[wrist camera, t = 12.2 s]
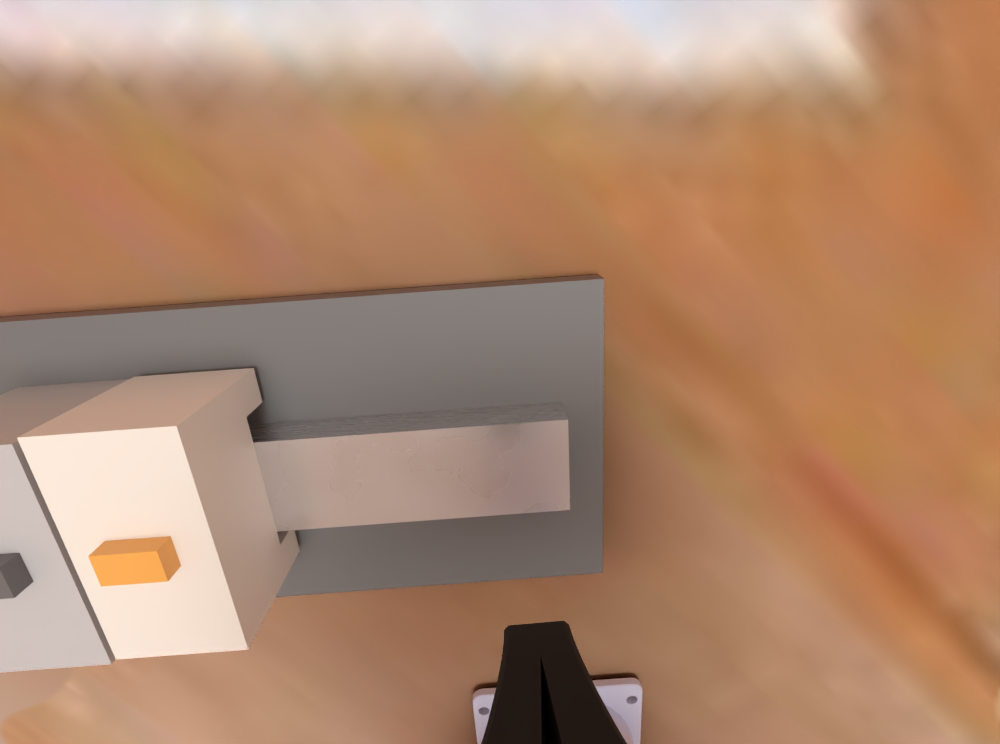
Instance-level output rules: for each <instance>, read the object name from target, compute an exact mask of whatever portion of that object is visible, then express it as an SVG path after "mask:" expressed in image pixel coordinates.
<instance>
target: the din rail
mask: <svg viewBox="0 0 1000 744" xmlns="http://www.w3.org/2000/svg"><path fill="white" fill-rule="evenodd" d="M248 425H249V428H250V432H251V436H252V440H253V443H254V447H255V451H256V455H257V458H258V462H259V466H260V470H261V473H262V477H263V481H264V485H265V489H266V492H267V496H268V500H269V504H270V507H271V511H272V515H273V519H274V522H275V526H276V530H277V531H290V530H304V529H317V528H331V527H345V526H358V525H372V524H385V523H399V522H412V521H426V520H440V519H453V518H467V517H480V516H494V515H508V514H521V513H535V512H548V511H562V510H570V479H569V434H568V418H567V415H566V412H565V410H564V407H563V404H562V402H548V403H535V404H521V405H507V406H494V407H480V408H466V409H452V410H439V411H425V412H411V413H397V414H384V415H370V416H356V417H343V418H329V419H315V420H301V421H288V422H274V423H260V424H248Z"/></svg>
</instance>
